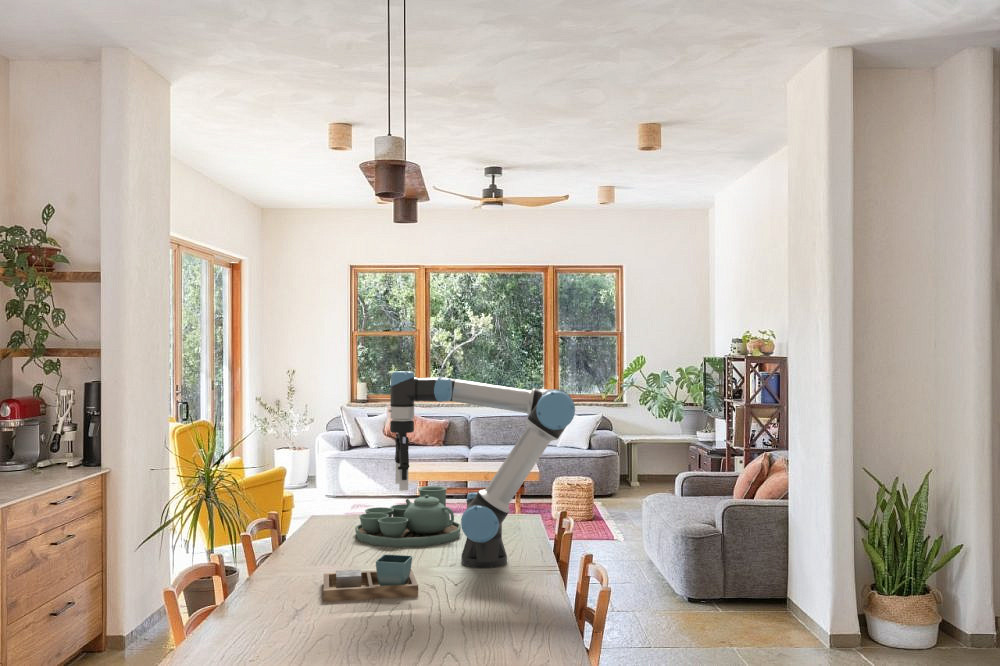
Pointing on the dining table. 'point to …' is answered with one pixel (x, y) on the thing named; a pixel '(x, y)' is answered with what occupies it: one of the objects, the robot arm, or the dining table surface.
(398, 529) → the tea set
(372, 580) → the wooden divided tray
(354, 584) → the grey metal block
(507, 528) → the dining table surface
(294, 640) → the dining table surface
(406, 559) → the flower pot
